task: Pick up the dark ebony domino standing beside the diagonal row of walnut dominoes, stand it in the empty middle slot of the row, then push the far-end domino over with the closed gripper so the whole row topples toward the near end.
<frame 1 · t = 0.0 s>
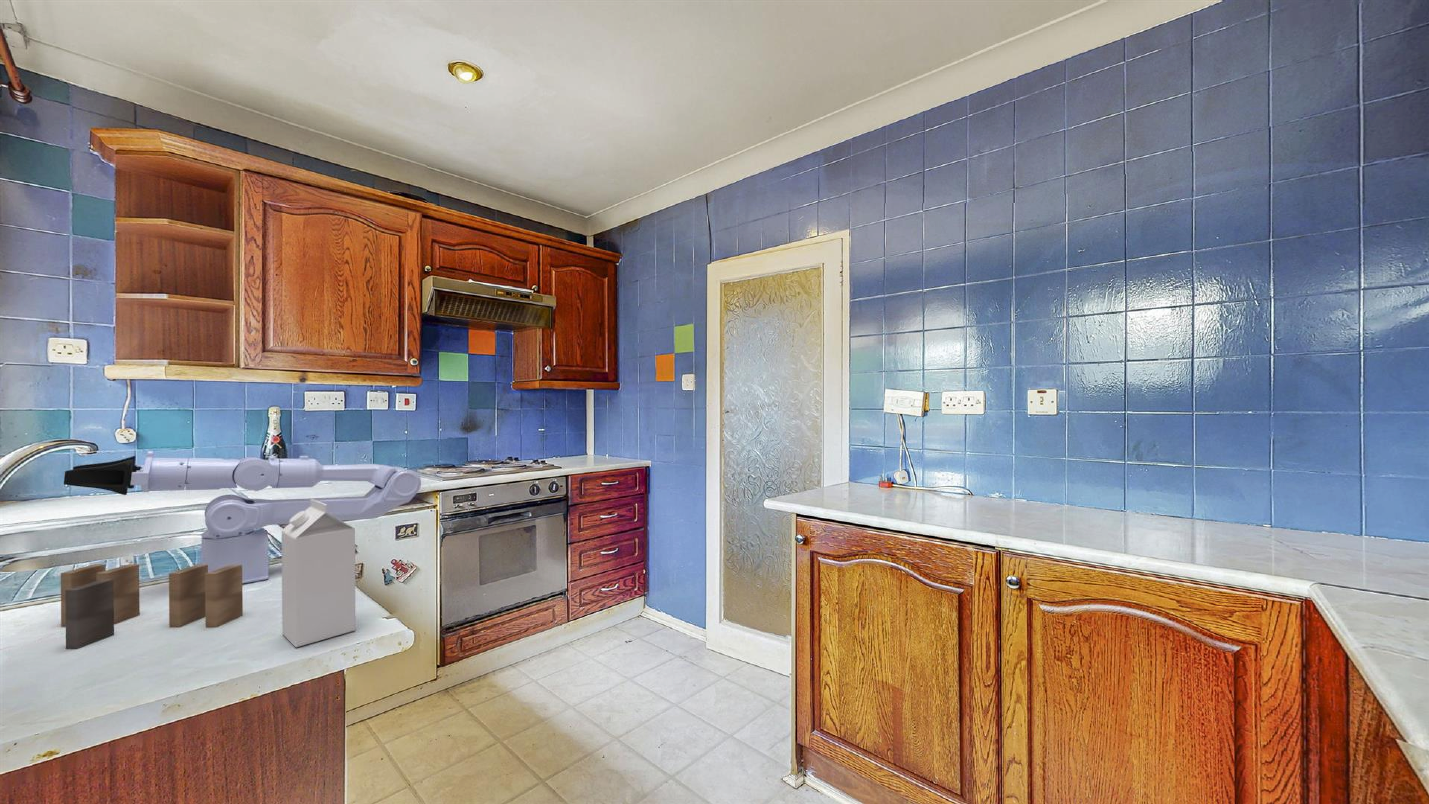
hand: (68, 475, 87), 22 cm above the worktop, tool horizontal, fingers open, 7 cm apart
domino 2: (118, 620, 83), on the worktop
domino 5: (224, 621, 82), on the worktop
milk carton: (319, 634, 78), on the worktop
domino 1: (83, 620, 83), on the worktop
domino 4: (189, 621, 83), on the worktop
ebony domino: (90, 641, 76), on the worktop
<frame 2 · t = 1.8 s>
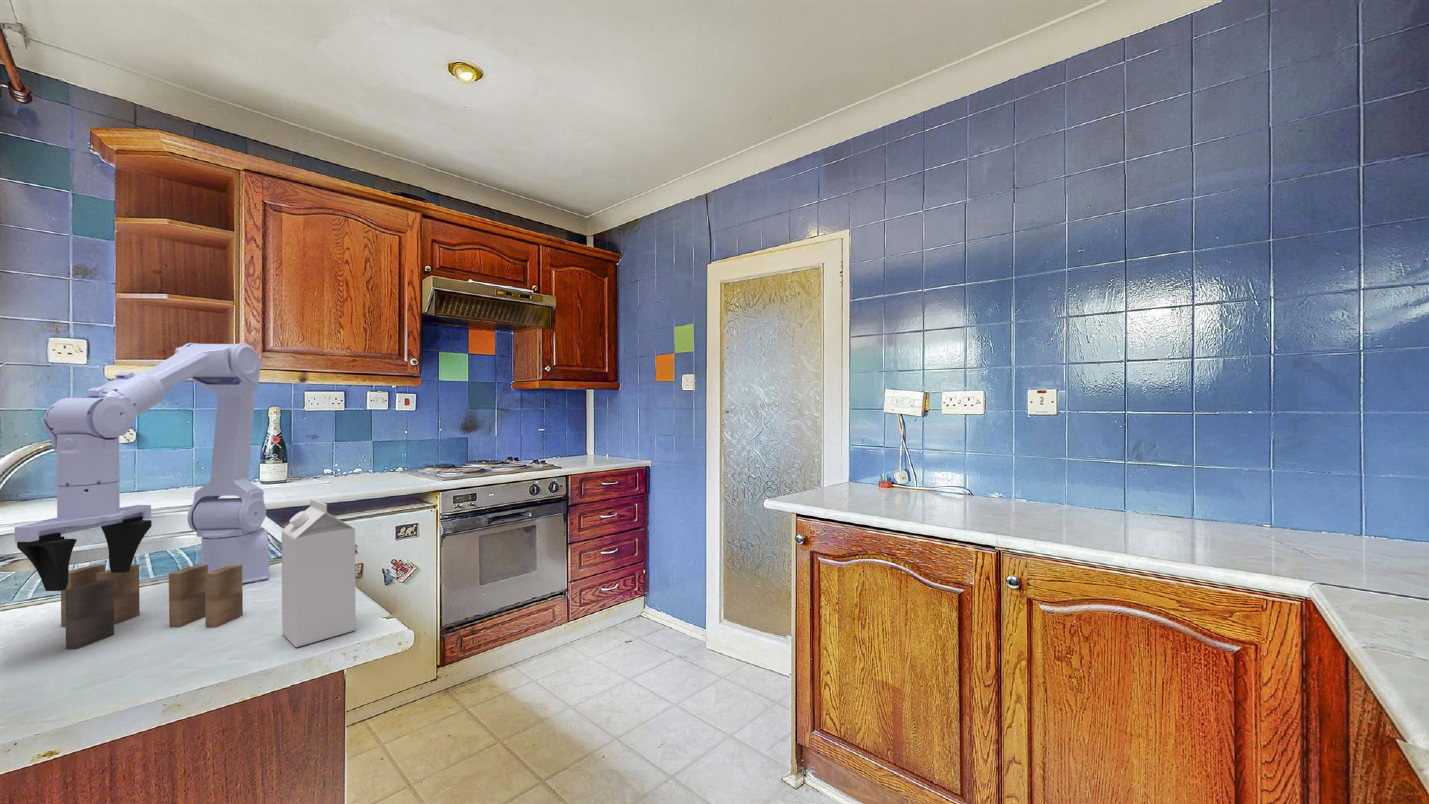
hand: (89, 580, 76), 9 cm above the worktop, tool pointing down, fingers open, 7 cm apart
nothing on the worktop moved.
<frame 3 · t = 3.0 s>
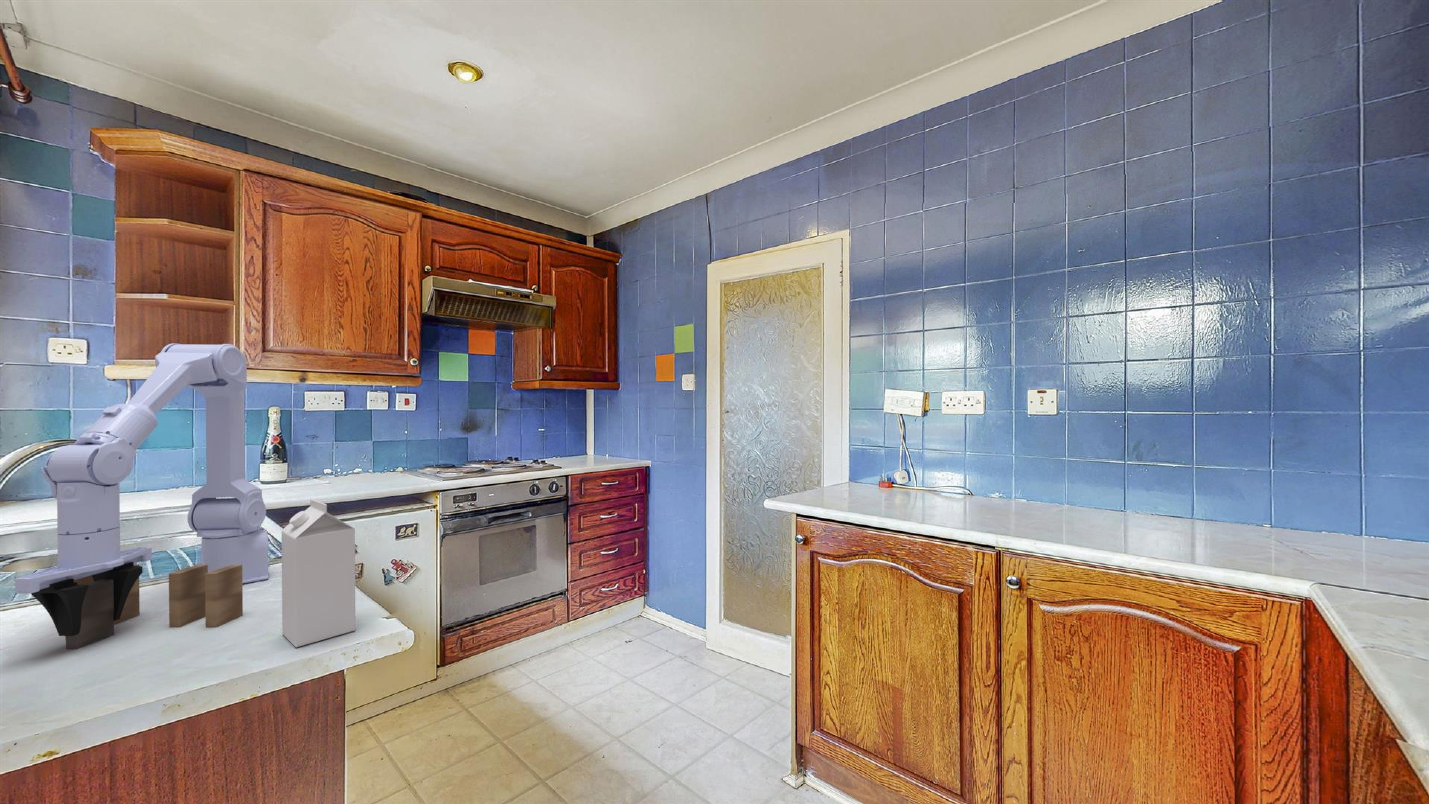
hand: (90, 627, 76), 2 cm above the worktop, tool pointing down, fingers closed on ebony domino, 4 cm apart
ebony domino: (90, 641, 76), on the worktop, touching gripper
everything else where it was.
when the fingers open (3 cm above the worktop, at t = 6.0 s): ebony domino stays where it is, on the worktop.
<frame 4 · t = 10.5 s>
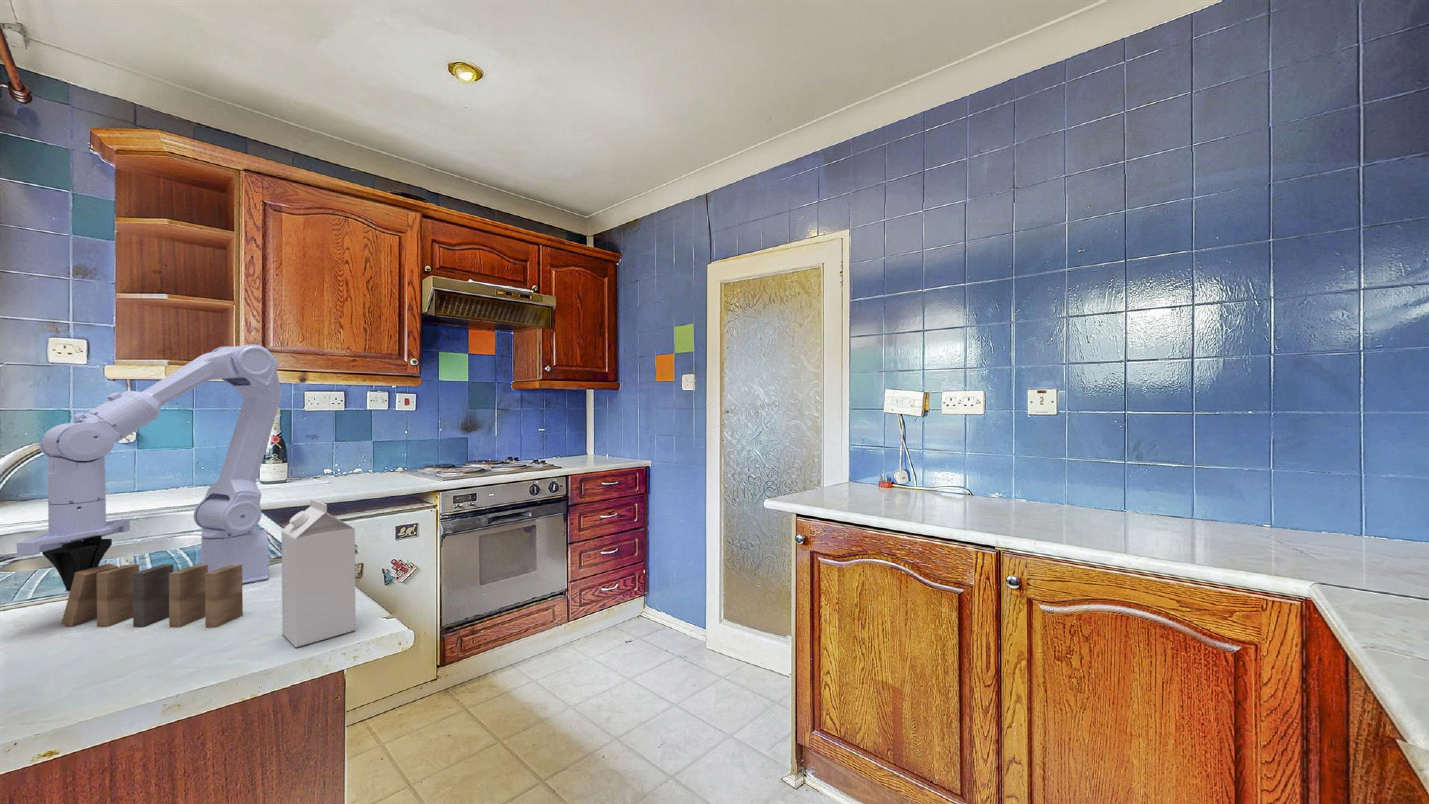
hand: (78, 589, 83), 5 cm above the worktop, tool pointing down, fingers closed
domino 1: (84, 619, 83), on the worktop, tilted 16°
ebony domino: (154, 621, 83), on the worktop
everything else where it was.
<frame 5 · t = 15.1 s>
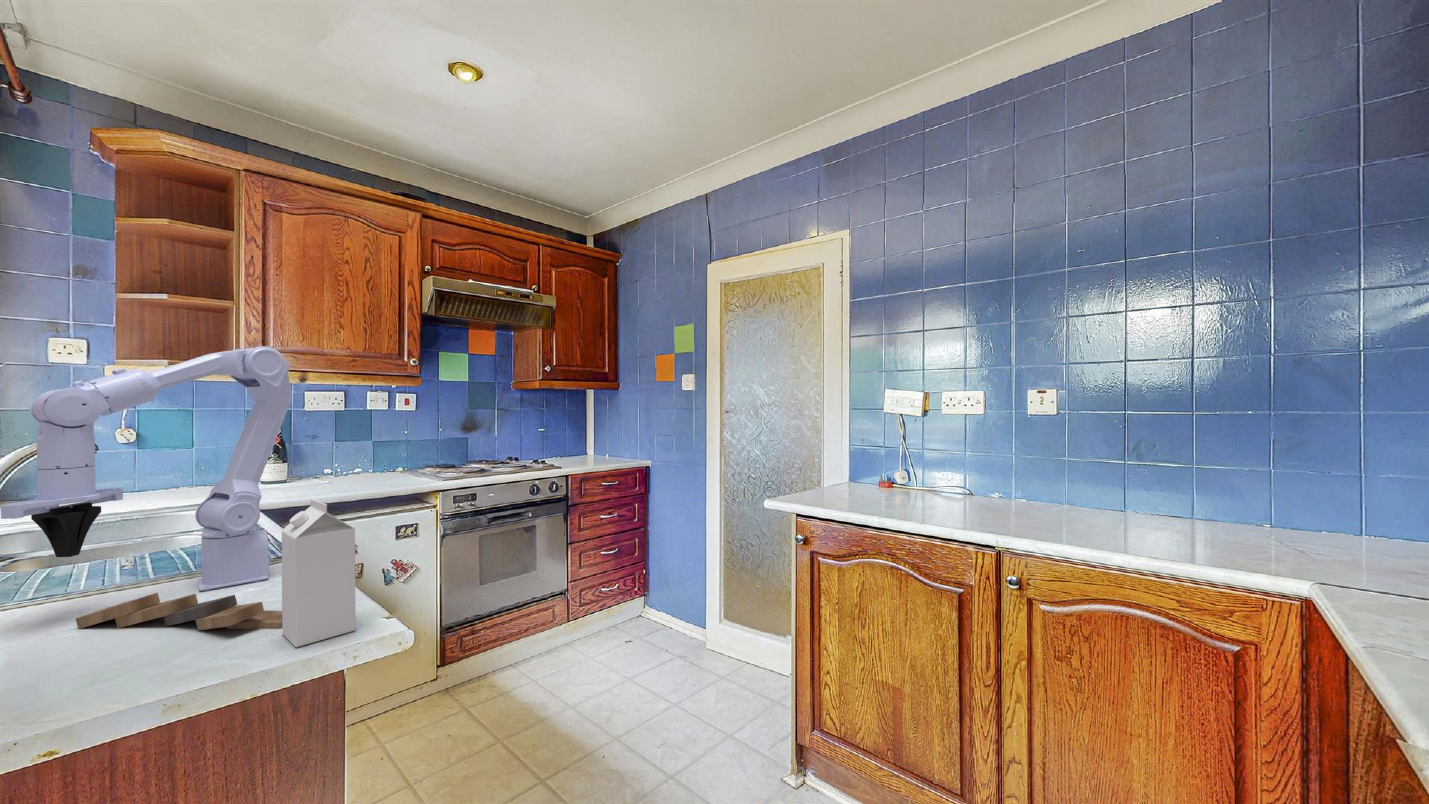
hand: (67, 555, 83), 10 cm above the worktop, tool pointing down, fingers closed
domino 2: (132, 617, 82), point 1 cm above the worktop, tilted 75°, touching domino 1
domino 5: (239, 621, 82), on the worktop, tilted 90°, touching domino 4
domino 1: (94, 617, 82), point 1 cm above the worktop, tilted 73°, touching domino 2
domino 4: (214, 618, 81), point 1 cm above the worktop, tilted 77°, touching domino 5
ebony domino: (181, 614, 83), point 1 cm above the worktop, tilted 75°
everything else where it was.
at the end: domino 5 tilted 90°; ebony domino tilted 75° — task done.
